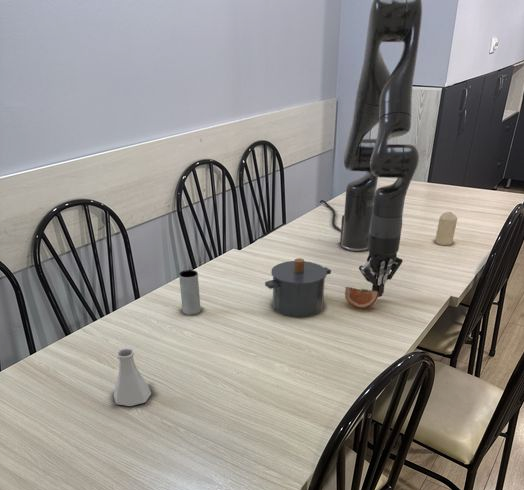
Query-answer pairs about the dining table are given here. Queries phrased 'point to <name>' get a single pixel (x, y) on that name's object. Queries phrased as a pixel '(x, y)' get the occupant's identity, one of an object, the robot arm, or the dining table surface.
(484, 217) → the dining table surface
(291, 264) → the pot lid
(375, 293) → the fruit slice
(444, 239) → the candle
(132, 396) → the flask
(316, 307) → the pot
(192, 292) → the gray cylinder
